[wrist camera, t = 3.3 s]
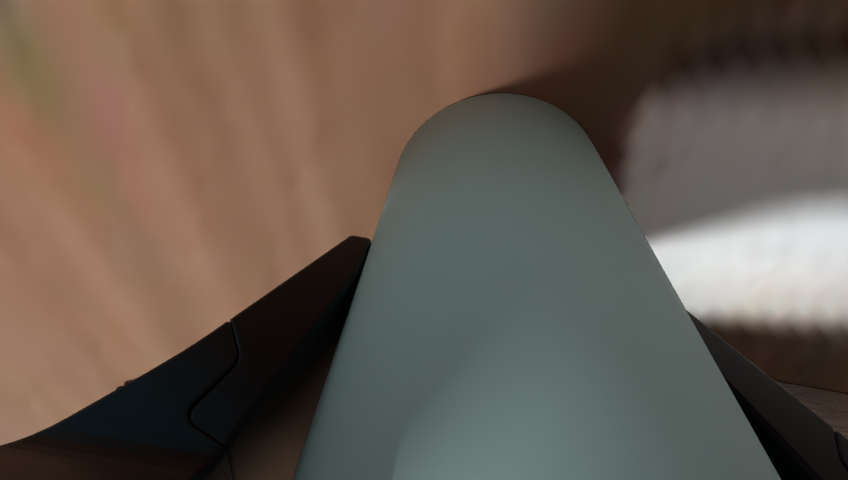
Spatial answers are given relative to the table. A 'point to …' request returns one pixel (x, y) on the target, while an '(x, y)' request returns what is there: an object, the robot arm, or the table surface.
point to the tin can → (519, 324)
